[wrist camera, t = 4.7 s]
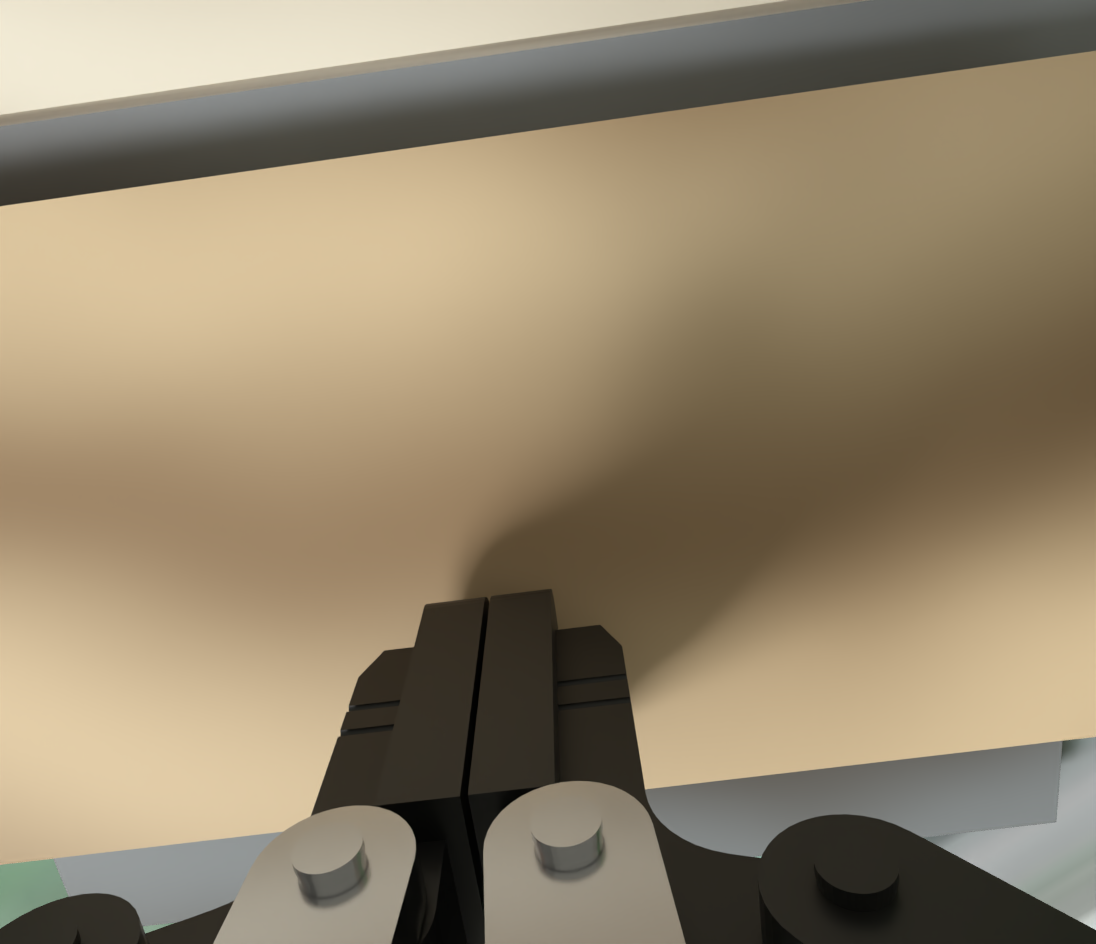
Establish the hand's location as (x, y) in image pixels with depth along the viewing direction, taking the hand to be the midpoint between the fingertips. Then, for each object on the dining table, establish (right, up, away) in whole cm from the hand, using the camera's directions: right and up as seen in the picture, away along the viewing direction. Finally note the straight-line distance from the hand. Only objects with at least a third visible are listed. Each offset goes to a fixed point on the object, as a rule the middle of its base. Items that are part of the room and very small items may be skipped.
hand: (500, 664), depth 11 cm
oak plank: (0, +2, +2) cm, 3 cm away
